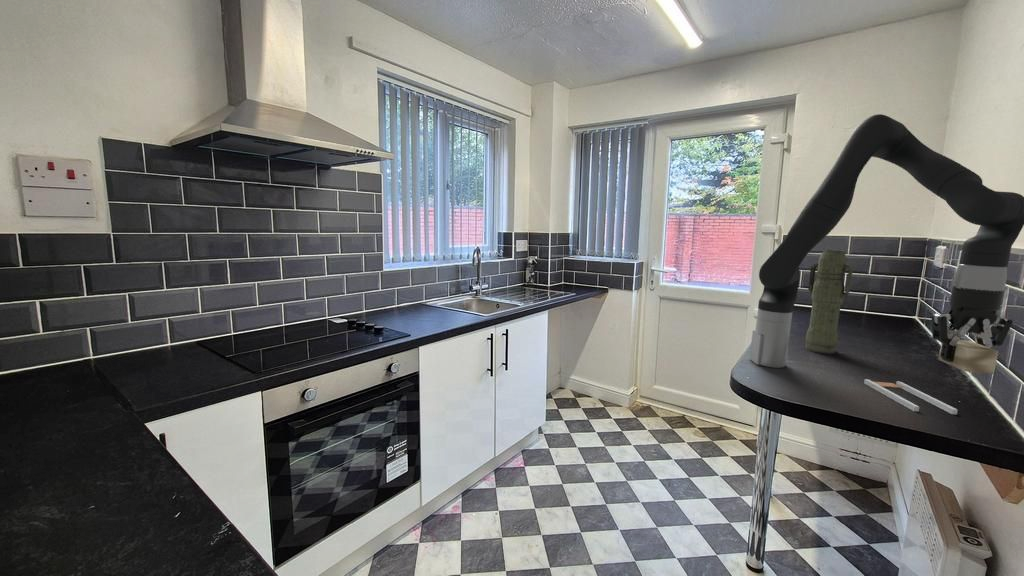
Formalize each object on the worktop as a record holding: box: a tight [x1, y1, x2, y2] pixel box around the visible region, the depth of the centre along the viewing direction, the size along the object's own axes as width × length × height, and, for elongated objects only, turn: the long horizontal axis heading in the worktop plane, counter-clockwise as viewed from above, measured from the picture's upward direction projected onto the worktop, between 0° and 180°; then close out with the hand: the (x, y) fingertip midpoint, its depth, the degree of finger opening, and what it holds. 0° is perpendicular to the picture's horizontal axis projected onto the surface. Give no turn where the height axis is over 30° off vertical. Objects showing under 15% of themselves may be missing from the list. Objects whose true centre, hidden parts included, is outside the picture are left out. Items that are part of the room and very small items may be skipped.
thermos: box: [805, 249, 854, 355], centre depth 148 cm, size 9×12×35 cm
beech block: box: [937, 339, 999, 375], centre depth 93 cm, size 5×8×5 cm, turn 164°
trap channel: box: [863, 378, 958, 416], centre depth 110 cm, size 9×19×1 cm, turn 171°
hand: (962, 361), depth 94 cm, fingers closed on beech block, 5 cm apart
